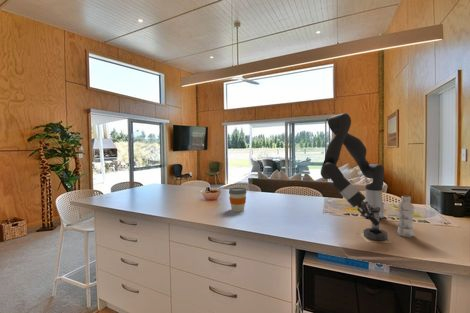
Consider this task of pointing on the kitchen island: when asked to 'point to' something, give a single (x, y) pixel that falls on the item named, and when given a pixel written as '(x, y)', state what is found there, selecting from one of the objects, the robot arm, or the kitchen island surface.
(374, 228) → the steel key rod
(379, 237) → the chuck collar
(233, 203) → the reusable coffee cup
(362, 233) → the oak base plate
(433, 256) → the kitchen island surface
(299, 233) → the kitchen island surface
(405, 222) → the plastic bottle
